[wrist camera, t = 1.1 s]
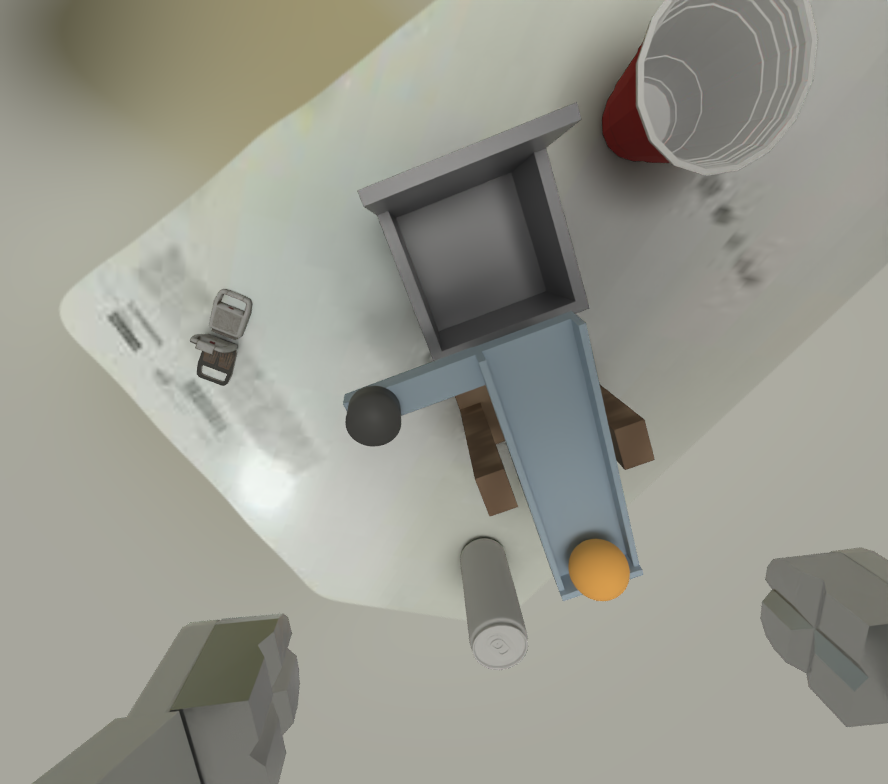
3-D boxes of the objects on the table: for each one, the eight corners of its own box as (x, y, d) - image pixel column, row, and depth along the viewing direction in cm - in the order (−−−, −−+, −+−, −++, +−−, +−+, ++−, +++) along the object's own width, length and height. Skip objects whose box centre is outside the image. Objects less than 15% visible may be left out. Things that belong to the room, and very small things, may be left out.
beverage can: (488, 526, 48) (508, 614, 37) (514, 558, 50) (541, 651, 38) (450, 551, 49) (458, 644, 38) (477, 581, 50) (492, 680, 39)
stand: (569, 349, 43) (639, 398, 29) (586, 407, 45) (659, 478, 31) (453, 392, 44) (467, 459, 30) (474, 446, 45) (496, 534, 32)
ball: (609, 519, 33) (636, 563, 29) (618, 556, 35) (644, 602, 31) (554, 537, 33) (574, 583, 29) (567, 573, 35) (587, 621, 31)
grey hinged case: (222, 285, 40) (199, 289, 36) (256, 299, 41) (237, 305, 37) (197, 373, 43) (172, 387, 38) (229, 386, 43) (209, 400, 39)
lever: (553, 289, 29) (587, 317, 24) (610, 520, 38) (644, 575, 33) (345, 367, 30) (336, 410, 25) (450, 574, 39) (459, 636, 34)
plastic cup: (657, 218, 40) (751, 207, 28) (547, 157, 38) (600, 118, 27) (732, 87, 37) (869, 16, 26) (617, 14, 35) (710, -97, 24)
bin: (515, 160, 38) (576, 102, 23) (555, 295, 41) (631, 324, 26) (383, 212, 39) (357, 190, 24) (433, 341, 42) (437, 394, 27)
